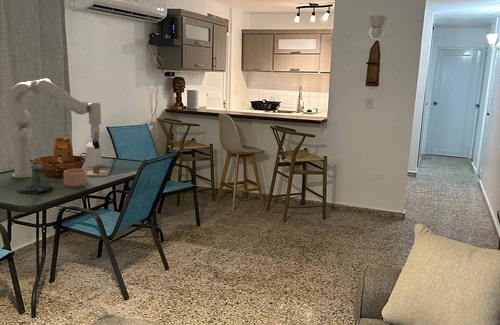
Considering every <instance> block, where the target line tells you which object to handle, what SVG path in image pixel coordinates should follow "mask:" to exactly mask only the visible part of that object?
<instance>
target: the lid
mask: <svg viewBox="0 0 500 325" xmlns="http://www.w3.org/2000/svg"><path fill="white" fill-rule="evenodd" d="M86 171H87V170H86ZM108 173H109V172H108V171H107V170H103V169H102V170H100V166H99V165H93V167H92V170H88V171H87V177H95V178H104V177H103V176H107V175H108Z"/></svg>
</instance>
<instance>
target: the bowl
mask: <svg viewBox="0 0 500 325" xmlns="http://www.w3.org/2000/svg"><path fill="white" fill-rule="evenodd" d="M87 183H88V178H87V169H84V168H70V169H65V170H63V184H64V186H66V185H67V186H66V187H81V185H82V186H85V185H87Z"/></svg>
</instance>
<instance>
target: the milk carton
mask: <svg viewBox="0 0 500 325" xmlns="http://www.w3.org/2000/svg"><path fill="white" fill-rule="evenodd" d="M101 146H102V145H101V144H99V149H94V146H93V139H89V141H88V143H87V144H86V146H85V147H86V149H85V150H86V153H85V154H86V167H89V168H93V165H99V167H101V166H102V153H101V152H102V150H101V149H102V148H101Z"/></svg>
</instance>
